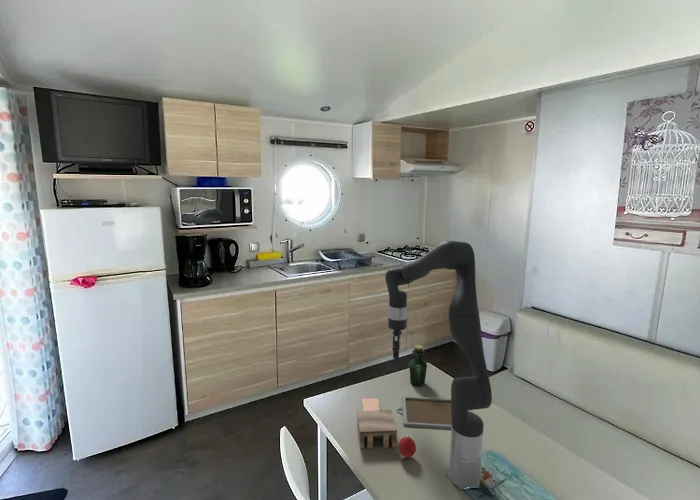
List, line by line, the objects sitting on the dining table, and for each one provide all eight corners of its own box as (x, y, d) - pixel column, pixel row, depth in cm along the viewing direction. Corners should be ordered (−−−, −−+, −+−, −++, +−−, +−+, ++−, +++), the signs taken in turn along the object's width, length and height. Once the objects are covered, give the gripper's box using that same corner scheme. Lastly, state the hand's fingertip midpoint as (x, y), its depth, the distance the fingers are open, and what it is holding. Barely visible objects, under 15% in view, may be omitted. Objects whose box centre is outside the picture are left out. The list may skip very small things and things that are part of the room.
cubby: (396, 447, 129) (396, 430, 128) (359, 448, 128) (360, 431, 127) (390, 425, 140) (391, 410, 139) (357, 426, 140) (357, 411, 139)
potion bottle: (415, 377, 177) (416, 341, 174) (429, 383, 171) (431, 346, 168) (405, 383, 171) (406, 346, 168) (420, 389, 165) (421, 352, 163)
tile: (380, 423, 143) (381, 417, 142) (364, 423, 143) (364, 417, 142) (377, 403, 156) (377, 398, 155) (362, 403, 155) (362, 398, 155)
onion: (394, 456, 124) (395, 434, 123) (406, 448, 128) (406, 427, 127) (407, 466, 120) (408, 443, 119) (419, 457, 124) (419, 436, 122)
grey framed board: (477, 428, 137) (396, 423, 140) (477, 432, 138) (396, 426, 141) (466, 399, 156) (395, 395, 159) (466, 402, 156) (395, 398, 159)
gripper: (406, 323, 141) (405, 362, 143) (407, 311, 154) (406, 347, 157) (386, 321, 142) (385, 361, 145) (389, 309, 156) (388, 346, 159)
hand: (396, 353), depth 151 cm, fingers open, 8 cm apart
